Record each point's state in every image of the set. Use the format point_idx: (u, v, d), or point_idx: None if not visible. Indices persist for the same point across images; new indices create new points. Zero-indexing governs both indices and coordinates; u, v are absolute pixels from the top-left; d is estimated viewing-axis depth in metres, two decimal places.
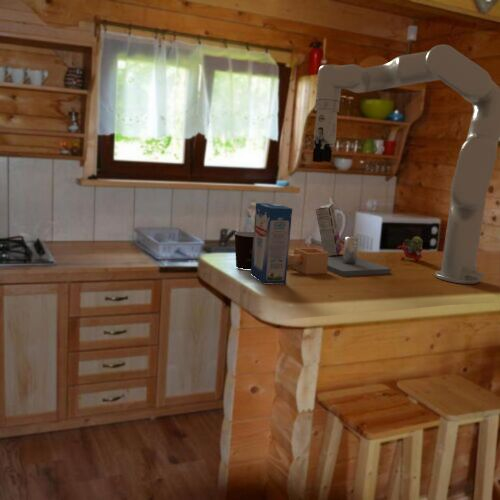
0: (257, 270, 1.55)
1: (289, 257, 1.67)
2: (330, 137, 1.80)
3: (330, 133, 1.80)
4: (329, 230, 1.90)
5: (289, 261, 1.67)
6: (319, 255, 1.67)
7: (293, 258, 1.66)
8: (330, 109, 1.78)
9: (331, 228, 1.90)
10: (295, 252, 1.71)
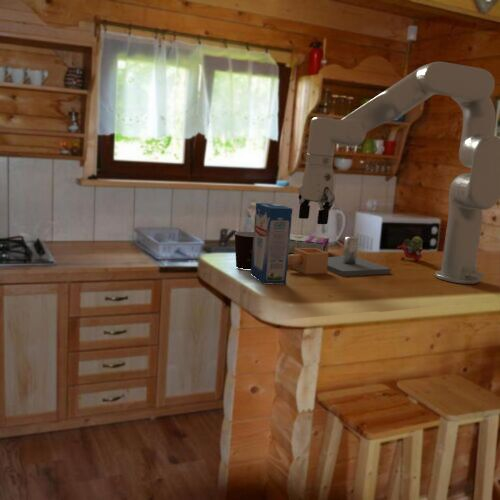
0: (257, 270, 1.55)
1: (289, 257, 1.67)
2: None
3: None
4: (298, 244, 1.94)
5: (289, 261, 1.67)
6: (319, 255, 1.67)
7: (293, 258, 1.66)
8: (331, 166, 1.64)
9: (297, 242, 1.94)
10: (295, 252, 1.71)
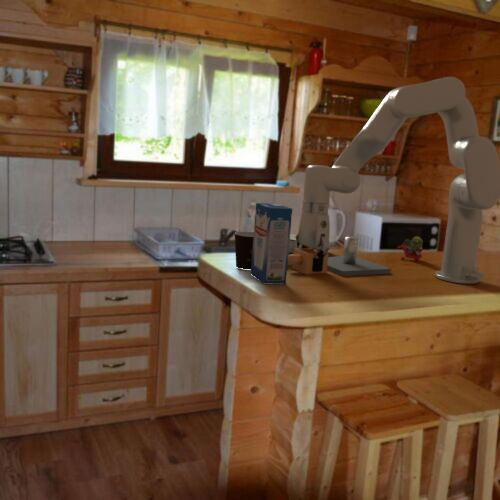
0: (257, 270, 1.55)
1: (289, 257, 1.67)
2: None
3: None
4: None
5: (289, 261, 1.67)
6: None
7: (293, 258, 1.66)
8: (327, 213, 1.66)
9: None
10: (295, 252, 1.71)
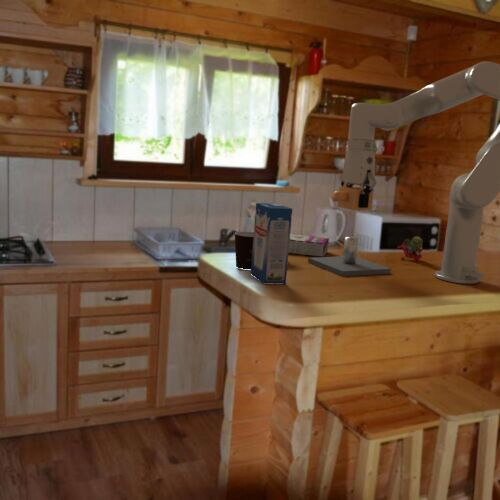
0: (257, 270, 1.55)
1: (336, 193, 1.70)
2: None
3: None
4: (298, 244, 1.94)
5: (336, 197, 1.71)
6: None
7: (340, 194, 1.70)
8: (372, 150, 1.70)
9: (297, 242, 1.94)
10: (340, 190, 1.75)
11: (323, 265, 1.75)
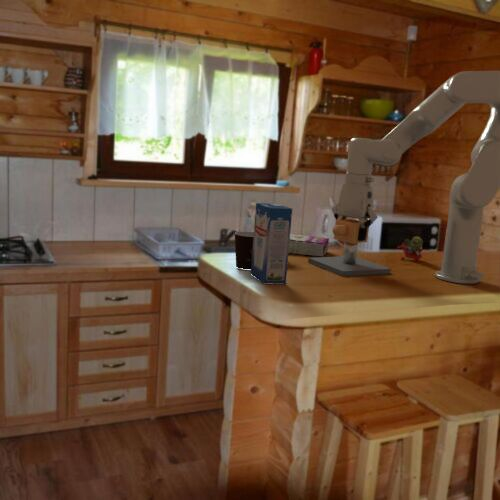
0: (257, 270, 1.55)
1: (337, 228, 1.71)
2: None
3: None
4: (298, 244, 1.94)
5: (338, 231, 1.71)
6: None
7: (342, 228, 1.71)
8: None
9: (297, 242, 1.94)
10: (337, 223, 1.76)
11: (323, 265, 1.75)
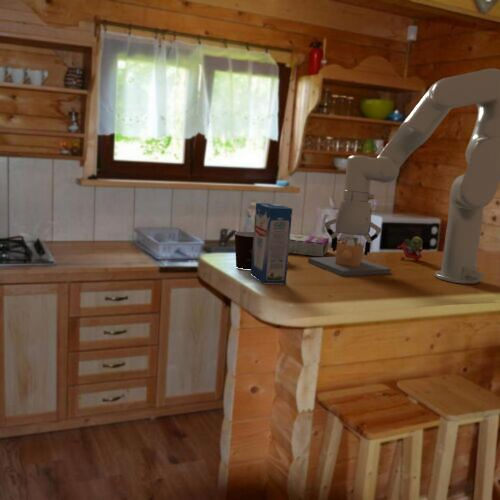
0: (257, 270, 1.55)
1: (348, 253, 1.71)
2: None
3: None
4: (298, 244, 1.94)
5: (348, 257, 1.71)
6: (362, 247, 1.77)
7: (351, 254, 1.71)
8: None
9: (297, 242, 1.94)
10: (339, 247, 1.75)
11: (323, 265, 1.75)
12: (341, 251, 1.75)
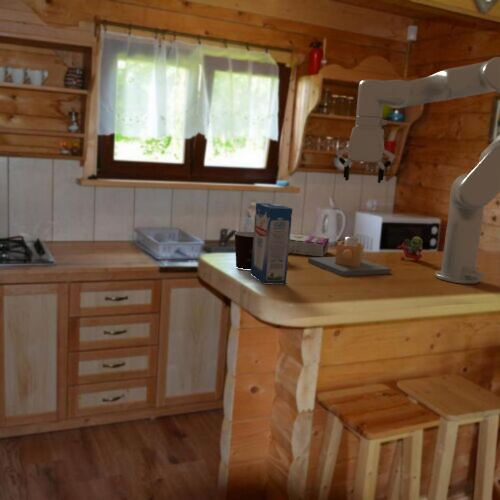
0: (257, 270, 1.55)
1: (348, 253, 1.71)
2: None
3: None
4: (298, 244, 1.94)
5: (348, 257, 1.71)
6: (362, 247, 1.77)
7: (351, 254, 1.71)
8: None
9: (297, 242, 1.94)
10: (339, 247, 1.75)
11: (323, 265, 1.75)
12: (341, 251, 1.75)
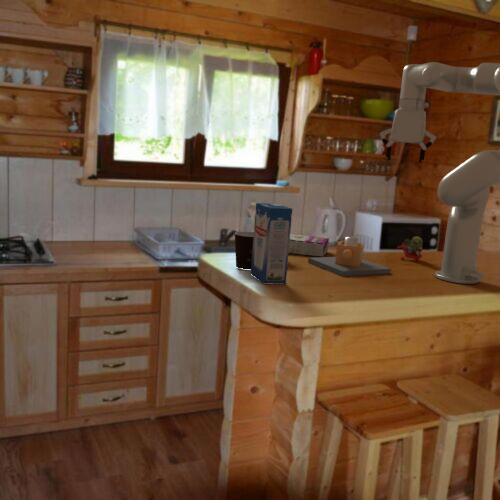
0: (257, 270, 1.55)
1: (348, 253, 1.71)
2: None
3: None
4: (298, 244, 1.94)
5: (348, 257, 1.71)
6: (362, 247, 1.77)
7: (351, 254, 1.71)
8: None
9: (297, 242, 1.94)
10: (339, 247, 1.75)
11: (323, 265, 1.75)
12: (341, 251, 1.75)
